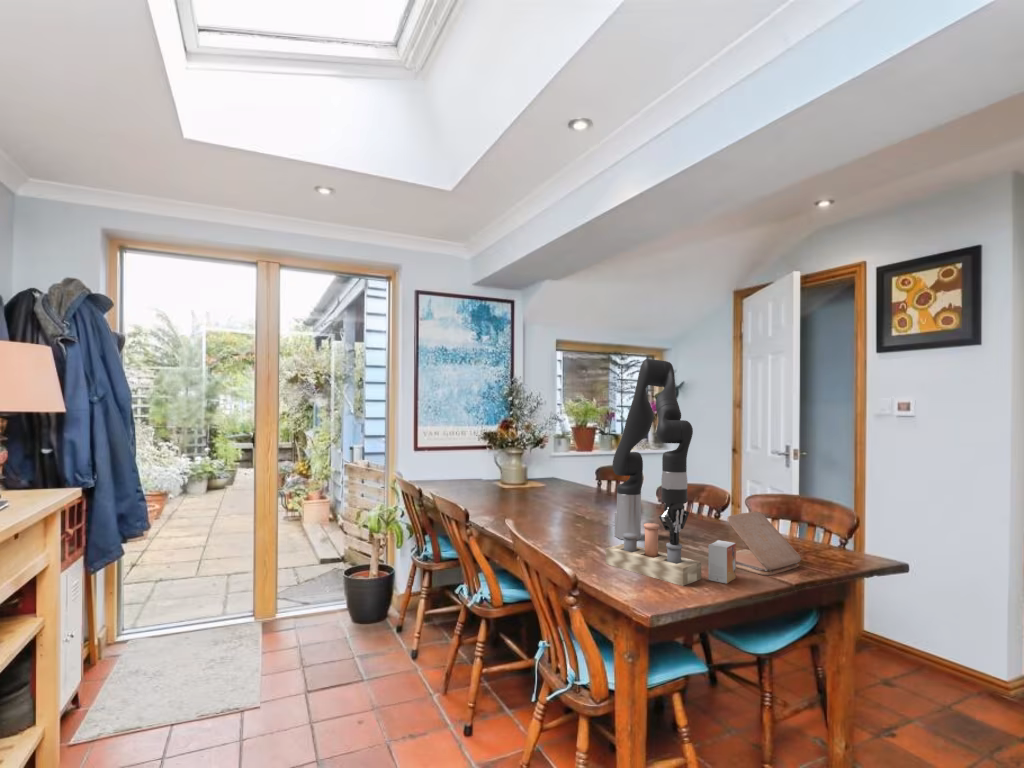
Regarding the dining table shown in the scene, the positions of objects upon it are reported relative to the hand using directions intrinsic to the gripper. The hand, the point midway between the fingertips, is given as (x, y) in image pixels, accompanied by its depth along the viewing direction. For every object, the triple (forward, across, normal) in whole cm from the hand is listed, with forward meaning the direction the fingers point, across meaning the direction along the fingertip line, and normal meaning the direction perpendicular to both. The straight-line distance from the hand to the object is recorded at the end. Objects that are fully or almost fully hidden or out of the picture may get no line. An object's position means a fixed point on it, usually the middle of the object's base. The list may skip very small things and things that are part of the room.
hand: (674, 544), depth 165 cm
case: (+10, -34, +9) cm, 37 cm away
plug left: (+10, 0, -16) cm, 19 cm away
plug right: (+10, 0, 0) cm, 10 cm away
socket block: (+10, 0, -8) cm, 13 cm away
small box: (+10, -10, +10) cm, 17 cm away
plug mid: (+5, 0, -8) cm, 10 cm away
